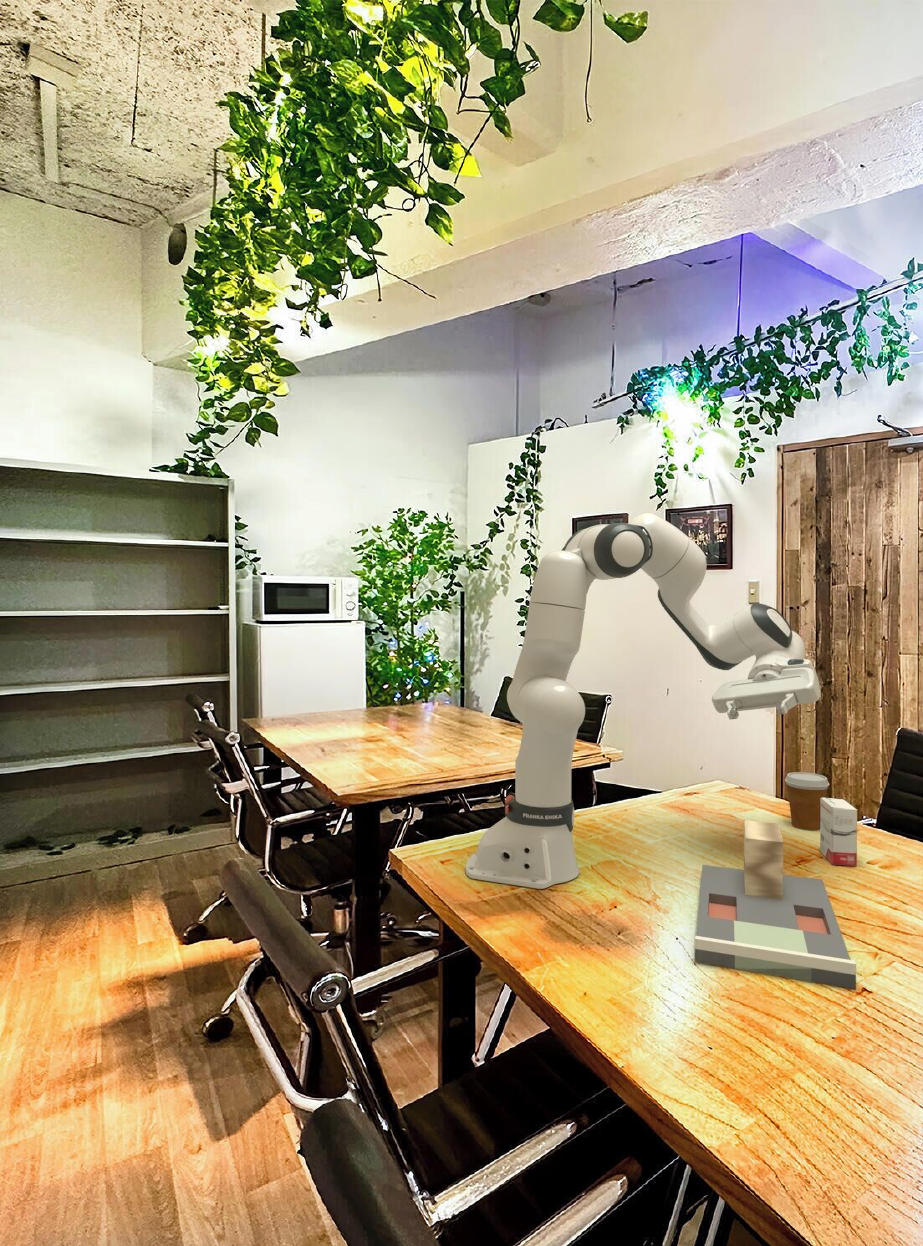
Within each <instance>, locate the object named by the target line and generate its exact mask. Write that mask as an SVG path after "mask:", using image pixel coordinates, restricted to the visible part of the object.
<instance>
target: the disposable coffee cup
mask: <svg viewBox="0 0 923 1246" xmlns="http://www.w3.org/2000/svg"><path fill="white" fill-rule="evenodd" d="M784 781H785V783H786V786H787V794H788V802H789V803H788V804H789V810H790V811H789V812H790V819H791V820H790V821H791V825H792V826H793V827H794V828H797V829H800V830H805V831H806V830H807V831H818V830H820V809H821V802H820V799H821V798H827V791H828V788H829V786H830V782H829V781H828V778H827V777H826V776H825V775H821V774H818V773H814V772H813V773H812V772H801V771H800V772H797V771H796V772H789V773H787V775H786V777H785V779H784Z"/></svg>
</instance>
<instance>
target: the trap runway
mask: <svg viewBox="0 0 923 1246" xmlns="http://www.w3.org/2000/svg"><path fill="white" fill-rule="evenodd" d="M701 868H702V869H701V875H700V876H701V878H700V889H699V898H698V899H699V900H698V901H699V902H698V912H697V922H696V933H695V936H694V962H695V963H698V964H705V965H710V966H716V967H721V968H726V969H728V968H729V969H733V970H738V971H739V970H740V971H744V972H745V971H747V972H750V973H751V972H753V973H756V974H757V973H758V974H764V975H769V976H775V977H781V978H787V979H794V980H798V981H804V982H805V981H806V982H811V983H816V984H823V985H829V986H833V987H840V988H846V989H851V990H856V989H857V963H856V960H852V959H851V957H850V954H849V951H848V949H847V945H846V943H845V941H844V940H845V939H844V937H843V935H842V931H841V929H840V927H839V923H838V921H837V917H836V915H835V912H834V908H833V906H832V902H831V901H830V898H829V895H828V892H827V889H826V886H825V883H824V881H823V879H822V878H821V879H820V878H814V877H806V876H797V875H790V874H783V900H781V899H774V898H766V897H759V896H751V895H745V883H744V869H740V868H734V867H733V868H732V867H724V866H716V865H707V864H702V865H701Z"/></svg>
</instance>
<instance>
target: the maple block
mask: <svg viewBox="0 0 923 1246" xmlns="http://www.w3.org/2000/svg"><path fill="white" fill-rule="evenodd" d="M743 821H744V823H743V870H744V883H745V895H751V896H759V897H766V898H774V899H781V900H783V875H784V839H783V836H782V830H781V828H780V824H779V823H778V822H777V823H775V822H763V821H755V820H743Z"/></svg>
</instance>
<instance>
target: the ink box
mask: <svg viewBox="0 0 923 1246" xmlns="http://www.w3.org/2000/svg"><path fill="white" fill-rule="evenodd" d="M820 802H821V809H820V829H819V830H820V832H819V841H820V842H819V845H820V846H819V851H820V853H821V854H822V855H823V856H824V857H825V858H826V859H827V860H828V862H829V863H830V864H831V865H833V866H848V867H849V866H850V867H857V863H858V852H857V851H858V850H857V849H858V841H857V840H858V809H857V808H855V806H853V805H852V804H850V803H849V802H848V801H847V800H845V799H840V798H832V797H831V798H830V797H826V798H821V799H820Z"/></svg>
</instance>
